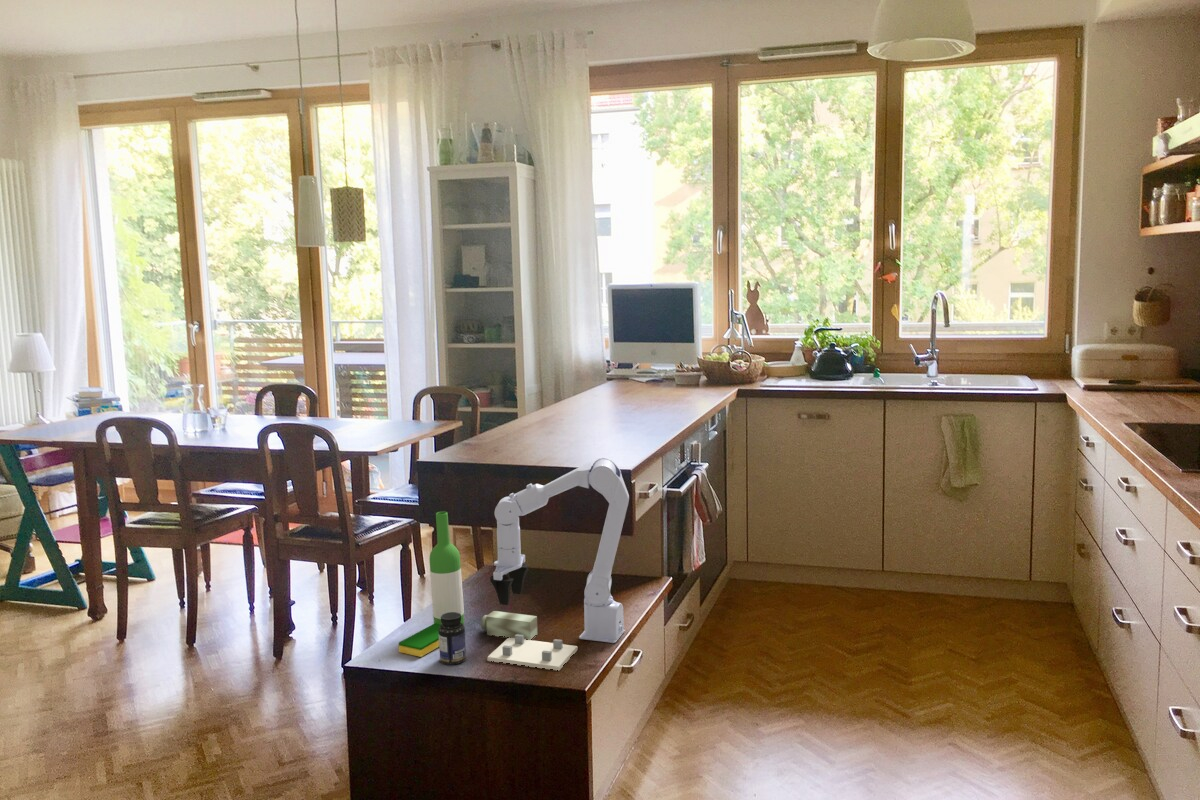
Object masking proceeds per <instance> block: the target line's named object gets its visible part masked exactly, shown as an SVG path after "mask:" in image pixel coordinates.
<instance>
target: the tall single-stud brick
mask: <svg viewBox="0 0 1200 800" xmlns="http://www.w3.org/2000/svg"><path fill="white" fill-rule="evenodd" d="M480 623H481V624H480V626H481V629H482V630H483V631H486V635H487V636H492V635H495V636H494V637H499V636H503V637H502V638H507V637H511V638H515V635H516V634H519V635H524V639H528V640H531V639H532V638H533V637H534V636H535V635H537V636H538V616H537V615H531V614H524V613H523V614H522V613H515V612H508V611H507V612H506V611H498V610H493V611H491V612H490V613H489V614H484V615H483V616H482V618H481V622H480ZM504 636H505V637H504ZM535 637H536V636H535ZM535 637H534V638H535ZM534 638H533V639H534ZM533 639H532V640H533Z"/></svg>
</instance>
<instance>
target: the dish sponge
mask: <svg viewBox="0 0 1200 800" xmlns="http://www.w3.org/2000/svg"><path fill="white" fill-rule="evenodd" d="M440 625H441V624H436V623H435V624H434V623H433V624H431V625H429V626H427V627H426V628H423V629H421V630H419V631H417V632H416V633H415V634H412V635H410V636H408V637H407V638H405V639H403V640H401V641H399V642H398V652H399V653H402V654H407V655H411V656H415V657H419V658H420V657H421V658H422V657H424V656H425V655H427V654H428V653H431V652H433V651H434V650H436V649H437V648H439V631H438V629H439V627H440Z"/></svg>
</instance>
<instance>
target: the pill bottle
mask: <svg viewBox="0 0 1200 800" xmlns="http://www.w3.org/2000/svg"><path fill="white" fill-rule="evenodd" d="M460 621H461V614H460V613H457V612H448V613H445V614H443V615H441V622H442V625H440V627H439V629H438V631H439V647H438V648H439V661H440V662H441V663H442V664H443V665H450V666H451V665H458V664H462V663H463V662H465V661H466V659H467V649H466V631H465V630H466V627H465V624H464V625H463V624H462V623H460Z"/></svg>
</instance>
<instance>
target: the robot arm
mask: <svg viewBox="0 0 1200 800" xmlns="http://www.w3.org/2000/svg"><path fill="white" fill-rule="evenodd" d="M590 486H591V488H593V490H595V491H597V492H598V493H599V494H601V495H602V496H603V497H604V499H605V500H606V501H607V502H608V508H607V512H606V517H605V520H604V525H603V528H602V532H601V536H600V541H599V545H598V550H597V552H596V557H595V560H594V565H593V568H592V570H591V571H590V572H589V574H588V575H587V578H586V585H585V588H584V595H583V596H584V598H583V608H584V609H583V610H584V612H583V613H584V614H583V618H584V619H583V621H584V623H583V624H584V631H583V632H582V633H580V635H579V636H578V639H579V640H587V641H593V642H594V641H595V642H603V643H610V644H614V643H616V642H618V640H619V639H620V638H621V636H622V635H623V634H624V633H625V629H624V627H625V626H624V622H625V621H624V618H625V617H624V613H625V612H624V606H623V603H621V602H618V601H615V600H614V597H613V596H612V594H611V587H612V584H613V583H612V582H613V581H612V580H613V579H612V576H611V575H612V570H613V566H614V563H615V559H616V558H615V557H616V554H617V552H618V551H617V550H618V547H619V544H620V540H621V534H622V530H623V525H624V522H625V519H626V515H627V510H628V506H629V501H630V495H629V491H628V489H627V486H626V483H625V481H624V478H623V475H622V471H621V469H620V468H619V467H618V465H617V464H616V463H615V462H614V461H613V460H612V459H610V458H607V457H602V458H597V459H596V460H595V461H591V462H588V463H587V462H586V463H584V464H583V465H580V466H579V467H577V468H575V469H573V470H571V471H569V472H567V473H565V474H563V475H561V476H560V477H557V478H556V479H554V480H552V481H550V482H548V483H546V484H544V485H542V484H540V483H535V484H533V483H529V484H527V485H526V486H525V487H526V488H525V489H522V490H520V491H518V492H516V493H514V492H512V493H510V494H509V495H508V496H505V497H502V498H501V499H500V500H499V502H498V503H497V505H496V506H495V509H494V517H495V519H496V524H497V525H496V527H497V528H496V547H497V560H495V561H494V562H493V566H495V570H494V571H493V572H492V573H493V575H491V576H490V577H489V580H490V583H491V585H492V586H493V588H494V590H495V592H496V595H497V599H498V602H499V605H504V606H508V605H510V597H511V591H512V594H514V595H521V594H522V592H523V587H524V584H525V583H524V581H525V578H526V575H527V573H528V571H529V568H530V565H529V564H527V563H525V562H526V554H522V553H521V551H522V550H521V549H522V546H521V544H522V543H521V526H520V517H522V516H526V515H527V514H530V513H532V512H534V511H536V510H539V509H540V508H543V507H544V506H546V505H547V504H548V502H549V499H550V498H552V497H554V496H556V495H559V494H561V493H563V492H565V491H568V490H570V489H573V488H575V487H581V488H585V489H590ZM507 574H508V576H507Z"/></svg>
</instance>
